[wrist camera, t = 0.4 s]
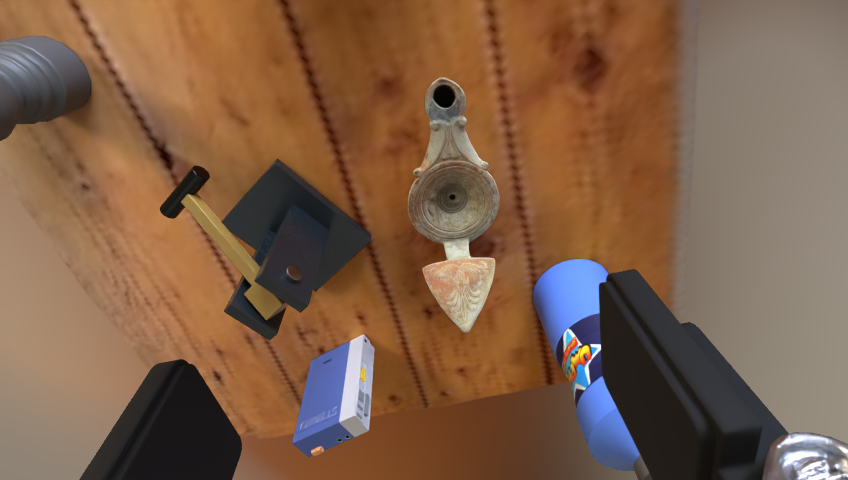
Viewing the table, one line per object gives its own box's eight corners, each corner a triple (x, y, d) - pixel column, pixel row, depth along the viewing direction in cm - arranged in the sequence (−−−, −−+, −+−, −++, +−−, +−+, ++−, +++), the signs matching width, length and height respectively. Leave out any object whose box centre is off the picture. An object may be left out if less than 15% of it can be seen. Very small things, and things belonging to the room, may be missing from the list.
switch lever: (173, 203, 40) (151, 207, 37) (206, 164, 38) (184, 166, 36) (272, 319, 39) (255, 330, 37) (309, 285, 38) (293, 294, 36)
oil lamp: (417, 275, 51) (420, 337, 42) (392, 75, 40) (390, 104, 32) (494, 268, 51) (513, 328, 42) (491, 65, 40) (516, 91, 32)
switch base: (223, 218, 47) (165, 299, 35) (277, 158, 44) (233, 225, 32) (317, 285, 51) (292, 376, 40) (371, 235, 48) (362, 317, 37)
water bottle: (521, 317, 55) (598, 543, 33) (546, 252, 50) (656, 464, 29) (594, 327, 56) (714, 551, 34) (625, 264, 51) (787, 476, 30)
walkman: (324, 373, 58) (308, 460, 48) (311, 359, 57) (291, 446, 46) (377, 348, 56) (371, 433, 46) (364, 333, 55) (355, 417, 45)
